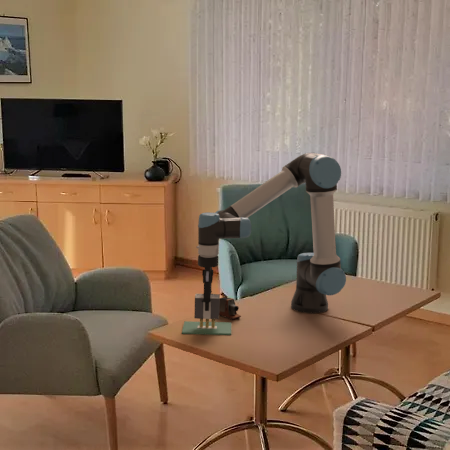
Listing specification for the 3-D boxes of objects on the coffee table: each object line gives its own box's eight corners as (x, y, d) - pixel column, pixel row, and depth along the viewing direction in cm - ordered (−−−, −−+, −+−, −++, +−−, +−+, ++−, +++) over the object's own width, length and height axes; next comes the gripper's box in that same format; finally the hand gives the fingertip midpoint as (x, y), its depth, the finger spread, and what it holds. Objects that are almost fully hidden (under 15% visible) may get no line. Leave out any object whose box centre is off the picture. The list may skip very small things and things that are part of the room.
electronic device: (233, 321, 263) (233, 302, 261) (216, 315, 270) (216, 297, 268) (241, 319, 266) (241, 300, 264) (224, 313, 273) (225, 295, 271)
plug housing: (219, 314, 255) (219, 294, 254) (218, 319, 250) (219, 298, 249) (195, 314, 255) (195, 293, 254) (194, 318, 251) (194, 297, 249)
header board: (231, 323, 260) (231, 313, 259) (231, 335, 248) (231, 324, 247) (184, 322, 260) (184, 312, 259) (181, 333, 248) (181, 323, 247)
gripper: (199, 249, 257) (198, 308, 262) (196, 260, 240) (195, 323, 244) (219, 249, 257) (217, 308, 262) (217, 261, 239) (216, 324, 244)
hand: (207, 315), depth 253 cm, fingers closed on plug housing, 5 cm apart
